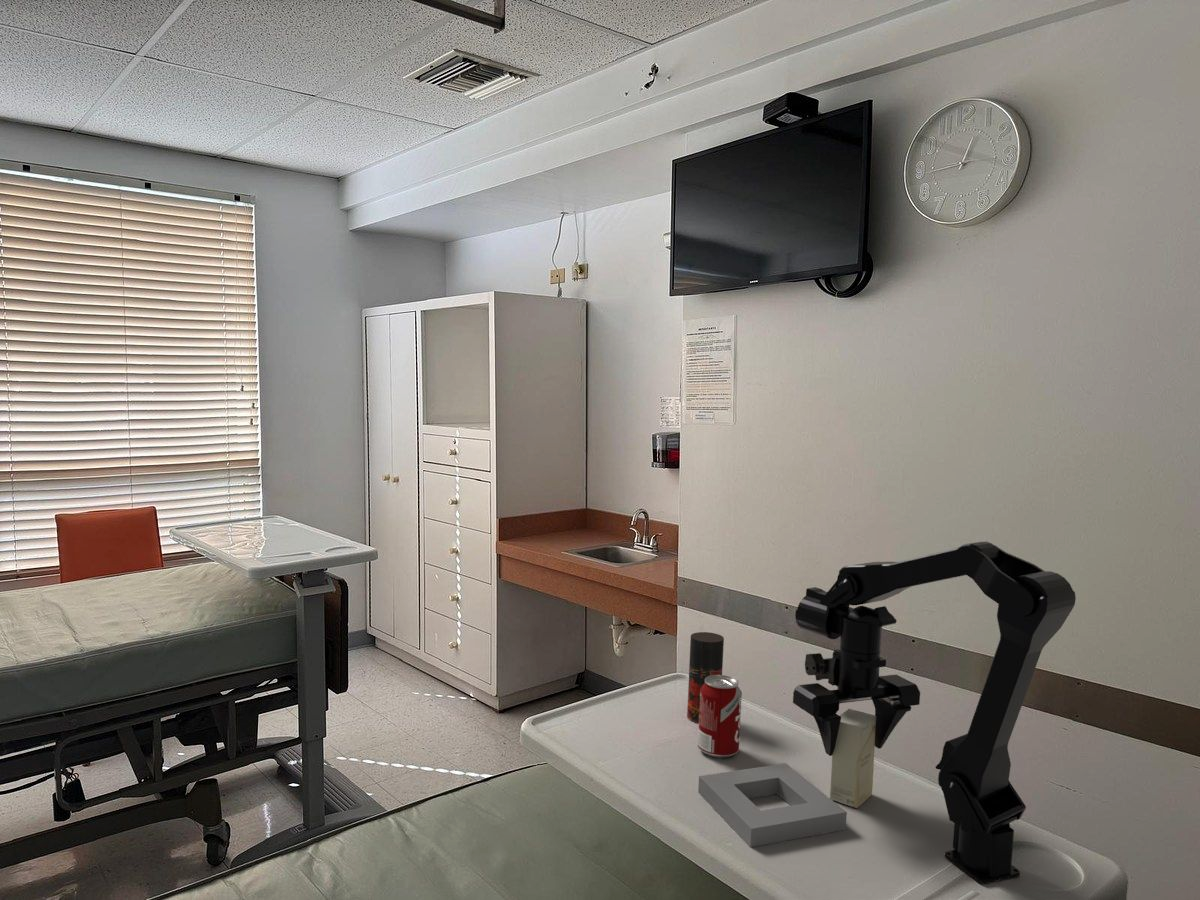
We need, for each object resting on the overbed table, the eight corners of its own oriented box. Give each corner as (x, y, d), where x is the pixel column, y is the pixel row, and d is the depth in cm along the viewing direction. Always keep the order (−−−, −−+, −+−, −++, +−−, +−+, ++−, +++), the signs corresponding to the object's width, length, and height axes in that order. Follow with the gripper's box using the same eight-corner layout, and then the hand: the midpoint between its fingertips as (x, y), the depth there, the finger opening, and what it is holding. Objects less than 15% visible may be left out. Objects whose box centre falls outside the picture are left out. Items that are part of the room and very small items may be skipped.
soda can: (707, 762, 131) (710, 689, 131) (691, 744, 138) (694, 674, 137) (745, 758, 133) (749, 686, 132) (728, 740, 140) (731, 672, 139)
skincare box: (857, 810, 118) (862, 728, 117) (827, 799, 121) (832, 719, 120) (873, 793, 123) (878, 715, 122) (844, 784, 126) (849, 707, 125)
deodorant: (683, 711, 152) (687, 632, 151) (715, 711, 152) (719, 632, 151) (690, 724, 146) (694, 642, 145) (723, 724, 147) (727, 642, 145)
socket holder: (845, 829, 113) (846, 812, 113) (750, 847, 108) (751, 828, 107) (785, 778, 127) (786, 763, 127) (698, 792, 122) (699, 776, 121)
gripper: (876, 627, 131) (870, 722, 132) (775, 636, 124) (769, 735, 126) (926, 649, 121) (918, 752, 122) (818, 660, 114) (812, 768, 115)
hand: (853, 751), depth 121 cm, fingers open, 8 cm apart
